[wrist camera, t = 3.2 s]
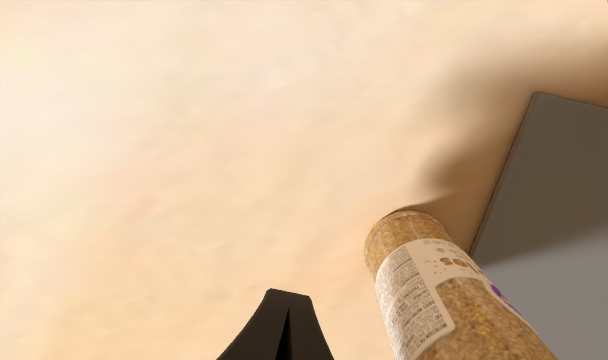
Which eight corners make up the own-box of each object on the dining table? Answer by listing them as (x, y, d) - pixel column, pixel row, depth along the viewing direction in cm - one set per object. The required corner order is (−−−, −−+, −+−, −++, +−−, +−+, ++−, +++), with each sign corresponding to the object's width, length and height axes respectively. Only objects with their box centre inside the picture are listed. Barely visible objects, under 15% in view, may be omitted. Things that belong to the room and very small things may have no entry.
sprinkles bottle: (464, 235, 17) (922, 684, 4) (411, 297, 18) (646, 801, 5) (394, 190, 17) (675, 552, 4) (344, 257, 18) (425, 712, 5)
